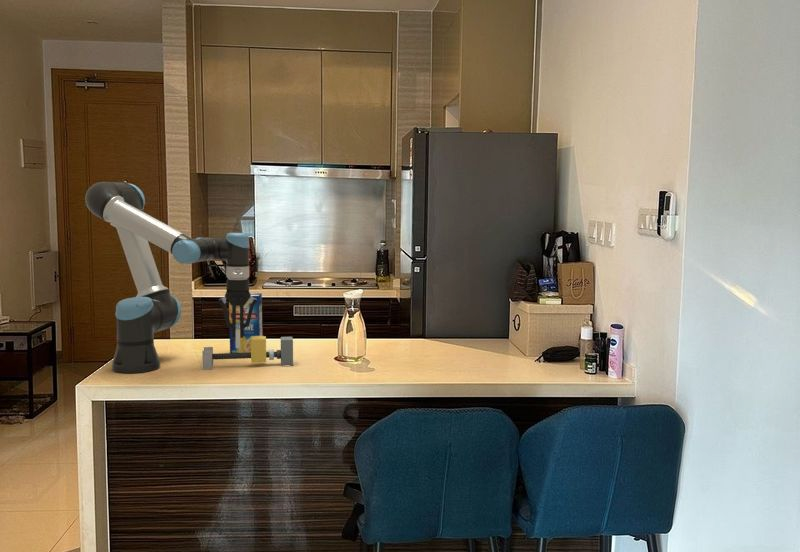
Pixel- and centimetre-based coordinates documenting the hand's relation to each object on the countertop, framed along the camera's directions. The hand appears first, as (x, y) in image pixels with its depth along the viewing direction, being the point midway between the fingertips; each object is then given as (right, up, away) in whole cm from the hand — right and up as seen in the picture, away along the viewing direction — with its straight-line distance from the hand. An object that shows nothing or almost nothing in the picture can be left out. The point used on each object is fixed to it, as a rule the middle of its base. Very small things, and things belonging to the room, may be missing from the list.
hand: (237, 347), depth 250 cm
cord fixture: (+3, -6, +1) cm, 7 cm away
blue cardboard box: (-1, -5, +20) cm, 21 cm away
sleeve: (+7, -5, +2) cm, 8 cm away
